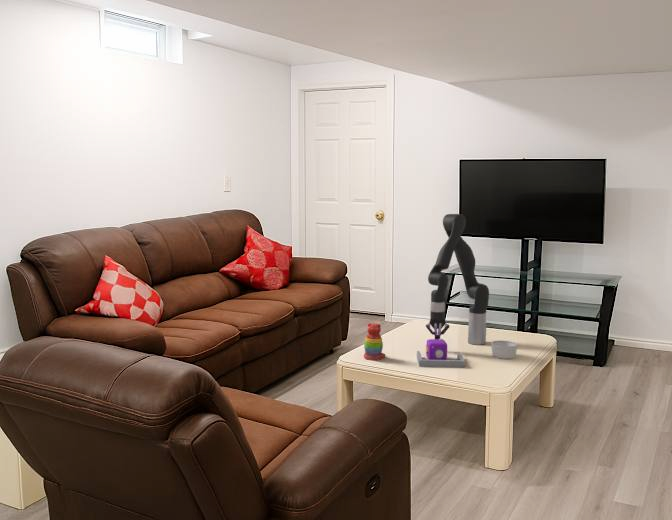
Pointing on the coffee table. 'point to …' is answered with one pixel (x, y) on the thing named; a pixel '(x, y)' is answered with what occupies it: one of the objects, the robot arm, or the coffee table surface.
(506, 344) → the ramekin
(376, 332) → the stacking bear
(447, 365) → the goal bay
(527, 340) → the coffee table surface
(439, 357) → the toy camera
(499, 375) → the coffee table surface
